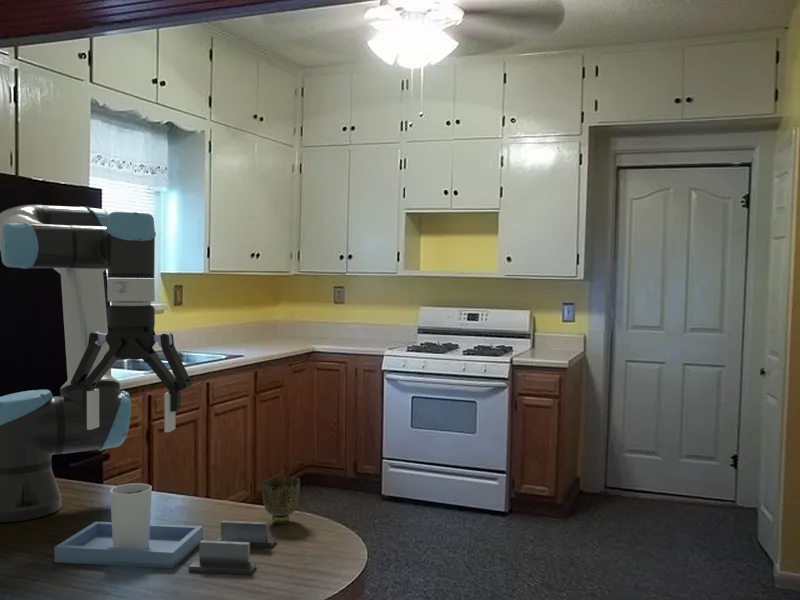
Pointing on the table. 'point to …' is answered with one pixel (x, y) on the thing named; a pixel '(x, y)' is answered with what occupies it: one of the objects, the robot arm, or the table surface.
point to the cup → (280, 497)
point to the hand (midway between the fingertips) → (131, 429)
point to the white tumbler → (131, 515)
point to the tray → (98, 548)
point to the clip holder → (232, 548)
